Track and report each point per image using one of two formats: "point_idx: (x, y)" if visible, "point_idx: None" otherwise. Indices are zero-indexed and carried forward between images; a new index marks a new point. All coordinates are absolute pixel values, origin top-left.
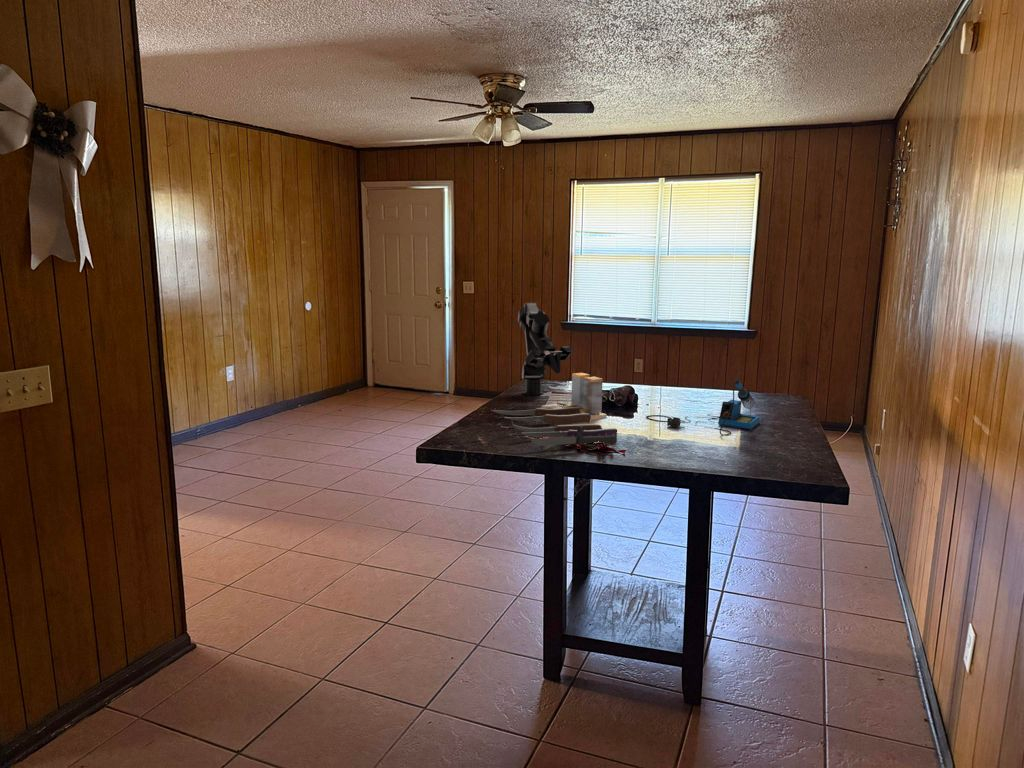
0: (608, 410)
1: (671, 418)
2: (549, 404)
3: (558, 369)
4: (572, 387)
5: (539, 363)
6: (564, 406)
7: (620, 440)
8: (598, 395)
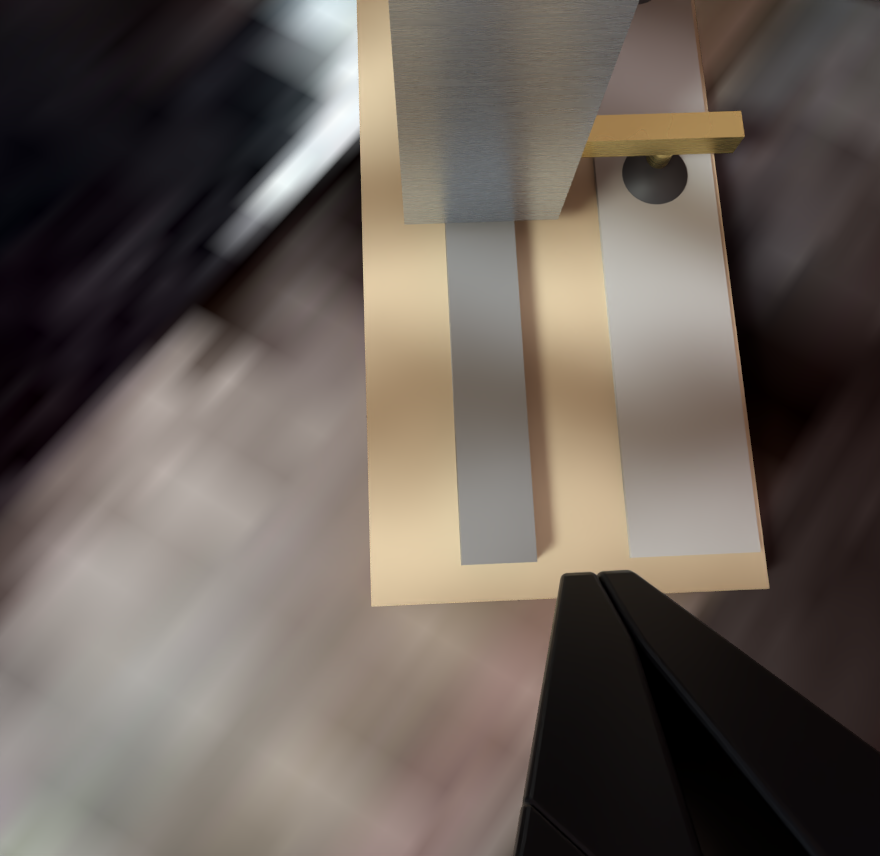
0: (112, 140)
1: None
2: None
3: (648, 615)
4: (618, 32)
5: None
6: (740, 116)
7: None
8: None
